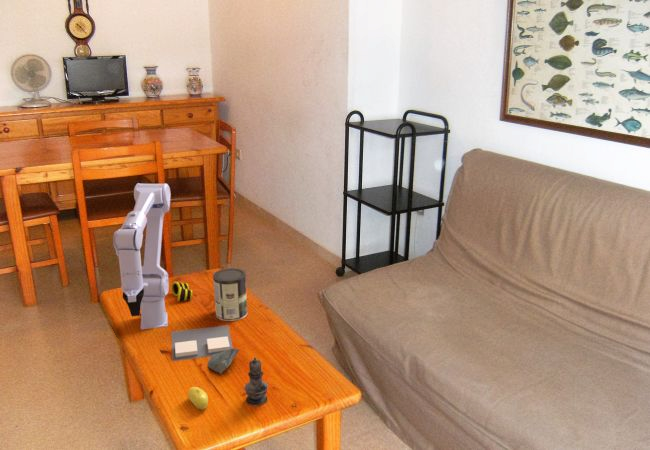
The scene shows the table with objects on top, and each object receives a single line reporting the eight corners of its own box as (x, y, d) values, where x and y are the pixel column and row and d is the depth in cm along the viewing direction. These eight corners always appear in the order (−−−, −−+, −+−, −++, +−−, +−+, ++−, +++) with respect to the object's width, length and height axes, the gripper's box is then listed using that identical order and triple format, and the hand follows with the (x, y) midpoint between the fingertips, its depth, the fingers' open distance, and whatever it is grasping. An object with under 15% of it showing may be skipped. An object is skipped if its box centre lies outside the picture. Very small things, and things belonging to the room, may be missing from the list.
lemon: (195, 415, 144) (194, 401, 142) (186, 397, 150) (184, 384, 149) (212, 410, 145) (211, 396, 144) (202, 393, 152) (201, 379, 151)
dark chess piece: (245, 393, 152) (243, 351, 148) (268, 392, 152) (267, 350, 148) (244, 407, 146) (242, 364, 142) (268, 405, 147) (267, 363, 143)
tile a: (174, 342, 172) (175, 353, 166) (196, 340, 173) (197, 350, 168) (175, 347, 172) (175, 358, 167) (196, 345, 174) (197, 355, 168)
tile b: (206, 338, 174) (208, 349, 168) (227, 336, 175) (229, 346, 170) (207, 343, 174) (208, 354, 169) (227, 341, 176) (230, 351, 170)
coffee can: (238, 304, 200) (236, 265, 195) (253, 316, 191) (251, 276, 187) (210, 312, 194) (207, 272, 190) (223, 325, 186) (221, 283, 181)
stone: (202, 382, 159) (238, 373, 157) (197, 369, 158) (233, 359, 157) (211, 364, 169) (244, 355, 168) (206, 351, 168) (240, 342, 167)
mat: (171, 333, 181) (171, 332, 181) (227, 326, 185) (227, 325, 185) (172, 362, 166) (172, 361, 165) (234, 354, 170) (234, 353, 170)
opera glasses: (192, 303, 202) (194, 290, 201) (177, 304, 200) (179, 290, 199) (185, 292, 211) (187, 279, 209) (170, 293, 208) (172, 279, 207)
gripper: (145, 278, 160) (149, 324, 164) (146, 260, 173) (150, 302, 177) (117, 281, 158) (122, 327, 162) (121, 262, 172) (125, 305, 176)
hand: (135, 315), depth 170 cm, fingers closed
